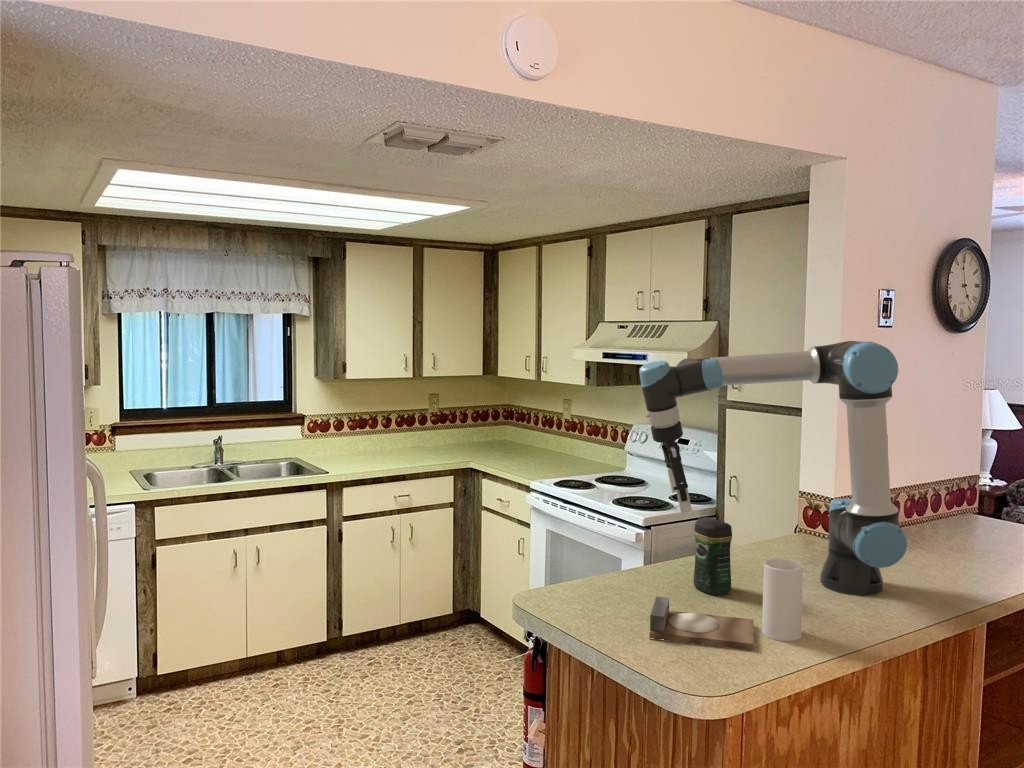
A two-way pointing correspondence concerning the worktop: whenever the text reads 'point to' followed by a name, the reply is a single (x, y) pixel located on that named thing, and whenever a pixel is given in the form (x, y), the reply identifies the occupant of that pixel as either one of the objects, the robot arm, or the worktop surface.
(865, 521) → the robot arm
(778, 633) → the cup
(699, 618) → the board
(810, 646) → the worktop surface
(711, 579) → the coffee jar
